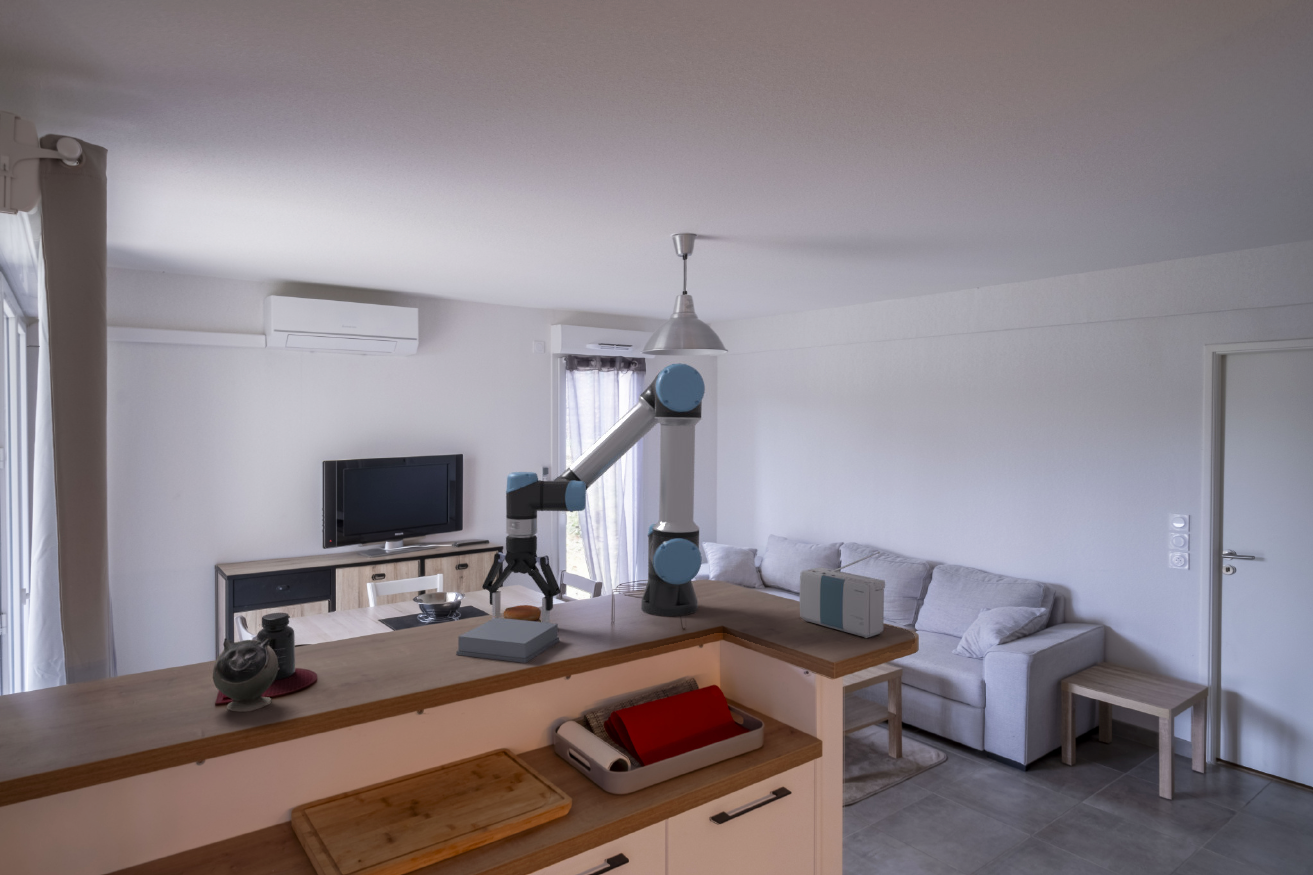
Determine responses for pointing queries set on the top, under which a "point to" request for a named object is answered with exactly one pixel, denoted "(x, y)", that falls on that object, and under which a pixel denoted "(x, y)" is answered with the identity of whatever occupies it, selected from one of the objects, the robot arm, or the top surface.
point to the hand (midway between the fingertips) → (520, 620)
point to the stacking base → (508, 640)
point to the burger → (523, 613)
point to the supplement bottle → (280, 641)
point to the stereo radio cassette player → (842, 600)
